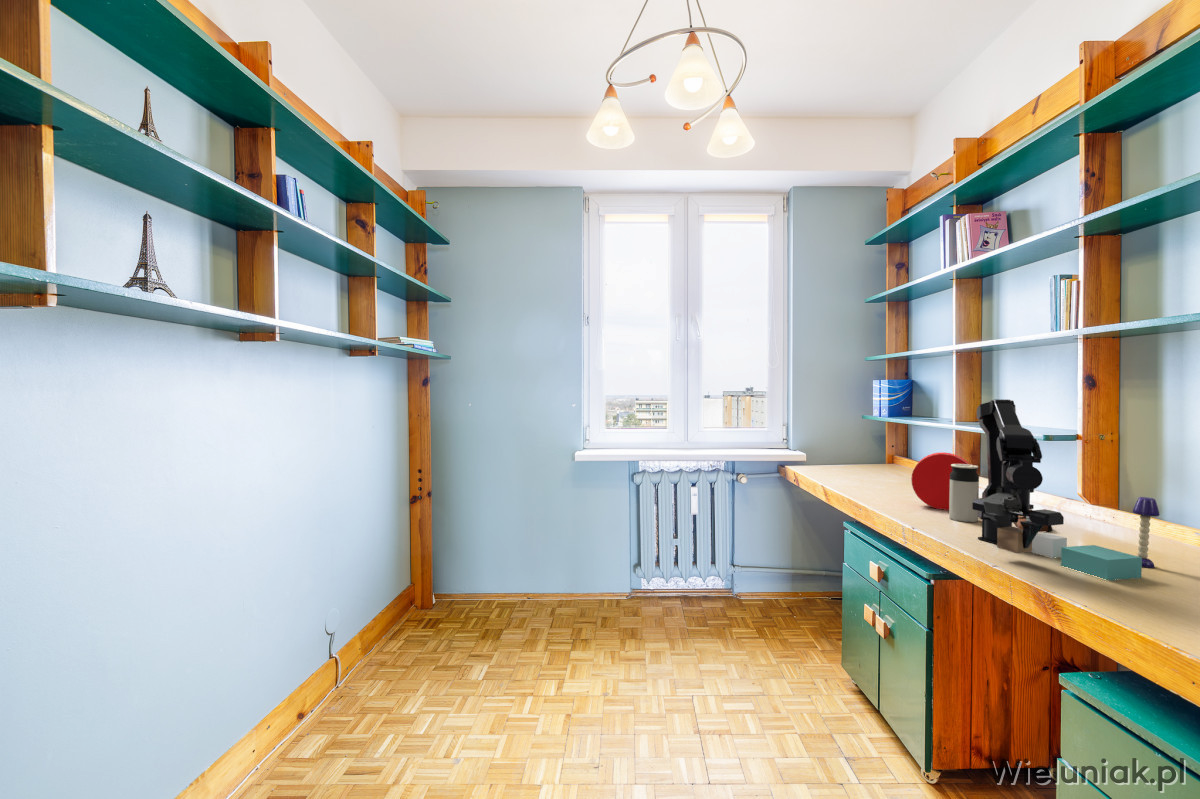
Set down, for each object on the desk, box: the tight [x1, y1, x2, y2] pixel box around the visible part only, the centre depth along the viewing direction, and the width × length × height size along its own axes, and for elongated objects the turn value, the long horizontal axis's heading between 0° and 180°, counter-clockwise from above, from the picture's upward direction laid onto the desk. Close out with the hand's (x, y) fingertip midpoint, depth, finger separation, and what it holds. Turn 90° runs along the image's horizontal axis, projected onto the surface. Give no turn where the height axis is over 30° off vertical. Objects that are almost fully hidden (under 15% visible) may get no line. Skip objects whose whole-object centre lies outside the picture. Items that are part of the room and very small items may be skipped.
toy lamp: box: [1132, 496, 1160, 569], centre depth 133 cm, size 5×5×17 cm
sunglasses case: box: [1012, 509, 1053, 533], centre depth 173 cm, size 18×7×7 cm
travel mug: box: [948, 464, 980, 523], centre depth 179 cm, size 8×8×18 cm
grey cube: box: [1031, 532, 1068, 559], centre depth 141 cm, size 5×5×5 cm
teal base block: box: [1060, 544, 1143, 581], centre depth 128 cm, size 10×10×5 cm
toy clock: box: [910, 452, 971, 511], centre depth 196 cm, size 20×6×20 cm, turn 56°
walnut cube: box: [996, 525, 1032, 554], centre depth 136 cm, size 5×5×5 cm
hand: (1014, 545), depth 136 cm, fingers closed on walnut cube, 5 cm apart
